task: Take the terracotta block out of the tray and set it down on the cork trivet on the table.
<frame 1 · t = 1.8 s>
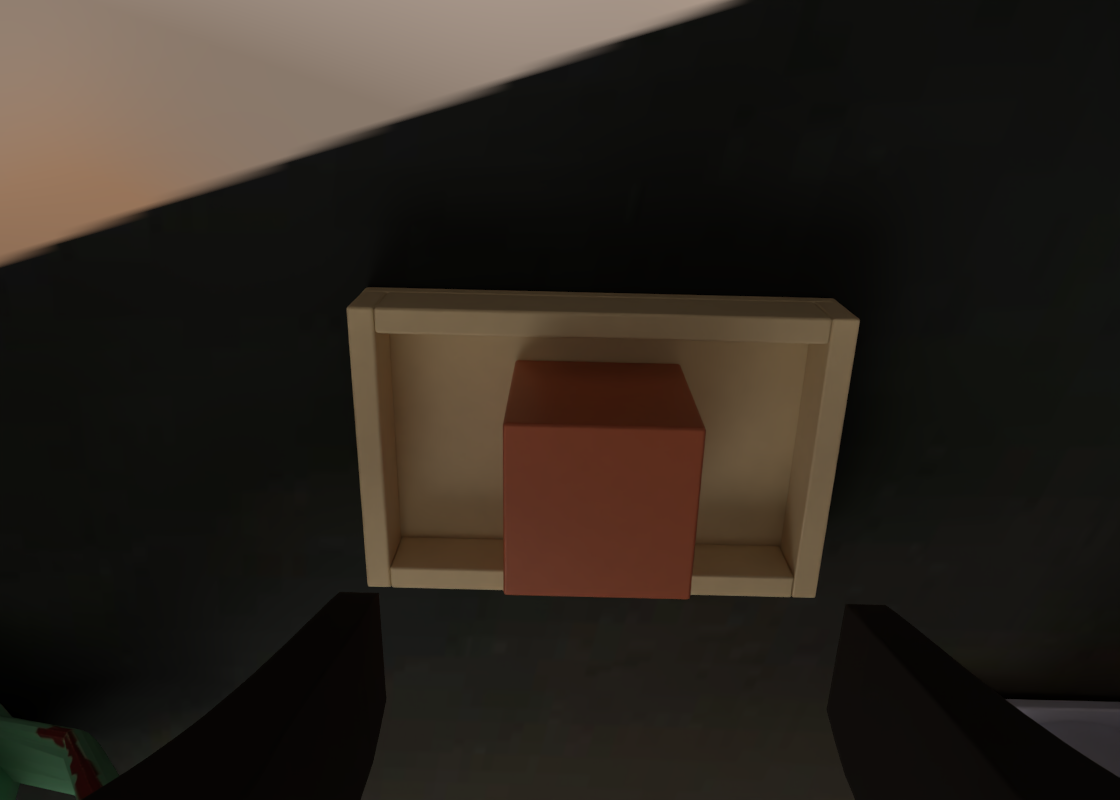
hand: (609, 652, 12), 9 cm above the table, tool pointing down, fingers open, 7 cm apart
tray: (594, 430, 21), on the table
block: (594, 436, 20), resting on tray
mug: (21, 717, 24), on the table
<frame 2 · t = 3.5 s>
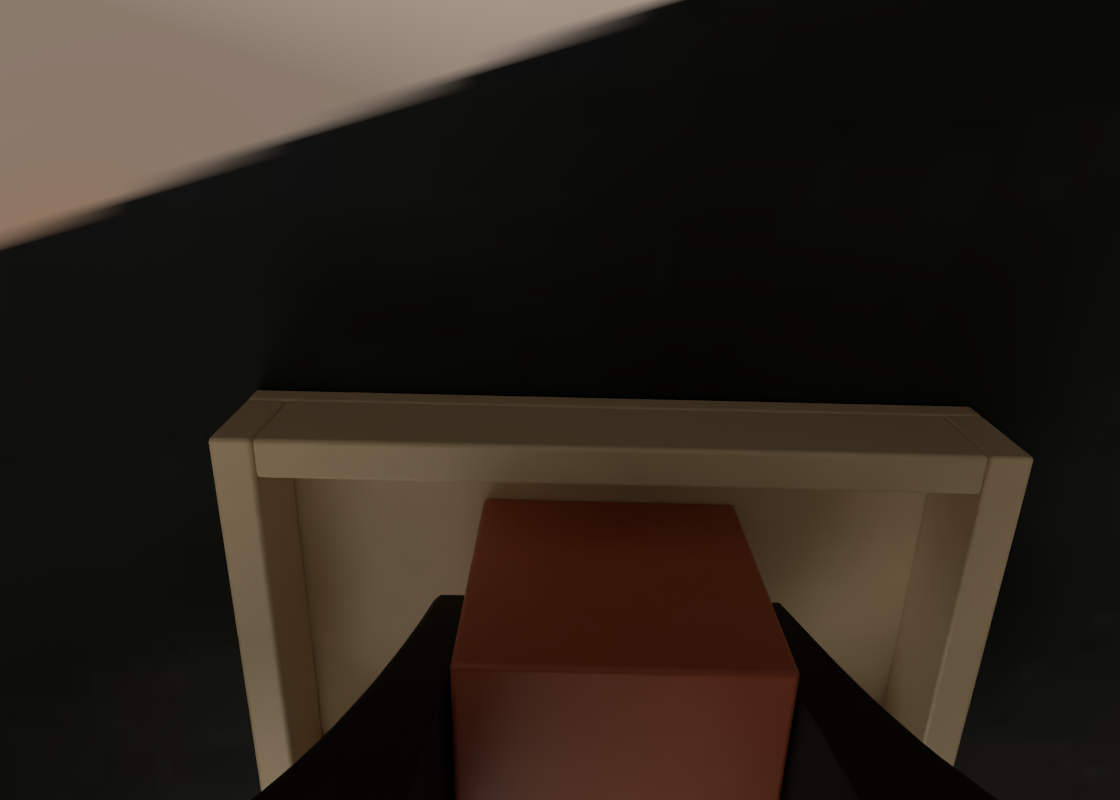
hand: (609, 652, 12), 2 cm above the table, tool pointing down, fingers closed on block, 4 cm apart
tray: (603, 591, 14), on the table
block: (603, 605, 14), resting on tray, touching gripper
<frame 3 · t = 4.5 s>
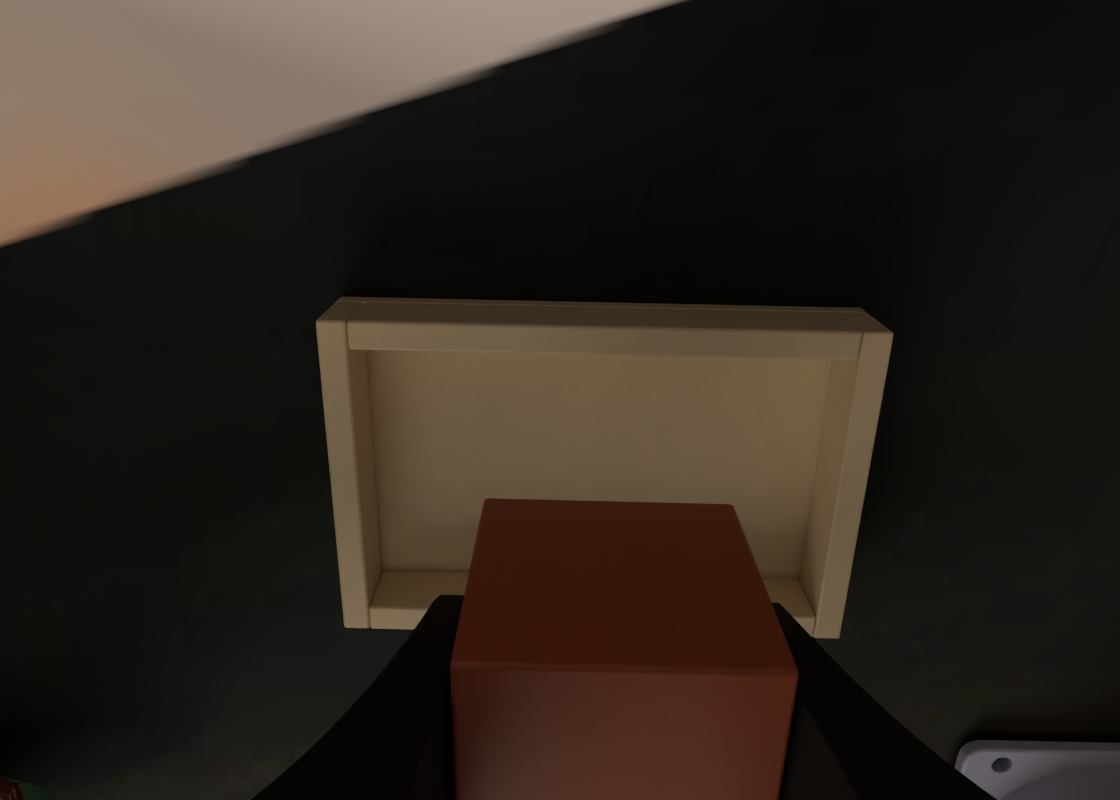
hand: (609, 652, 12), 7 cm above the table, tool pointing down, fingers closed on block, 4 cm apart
tray: (594, 453, 19), on the table
block: (603, 604, 14), point 5 cm above the table, touching gripper
when the fingers open (2 cm above the table, at t = 9.1 s): block stays where it is, resting on trivet.
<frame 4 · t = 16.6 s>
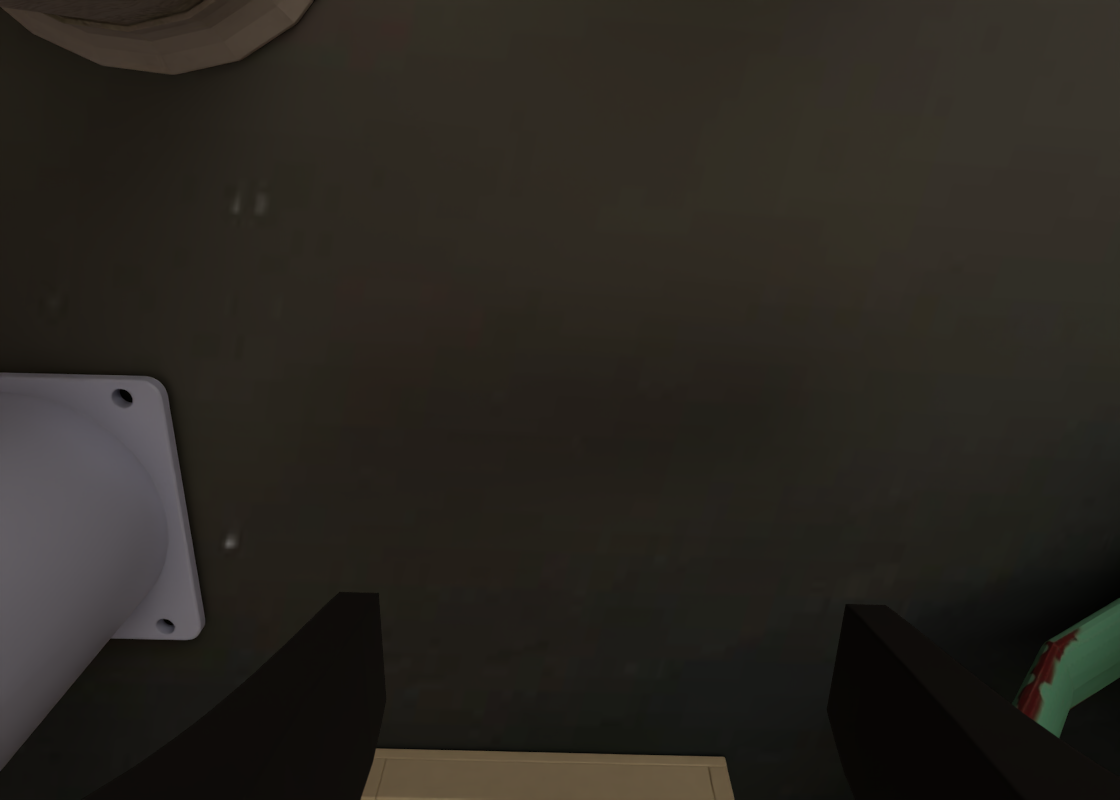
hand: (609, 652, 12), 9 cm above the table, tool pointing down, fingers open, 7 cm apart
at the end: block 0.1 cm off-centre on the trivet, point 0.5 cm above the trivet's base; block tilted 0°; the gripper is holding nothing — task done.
